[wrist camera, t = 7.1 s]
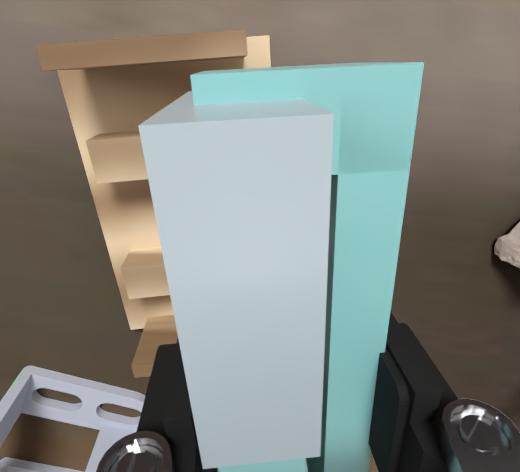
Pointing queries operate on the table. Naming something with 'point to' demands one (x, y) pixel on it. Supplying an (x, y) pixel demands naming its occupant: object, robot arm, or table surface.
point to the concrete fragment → (509, 247)
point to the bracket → (67, 412)
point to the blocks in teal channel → (283, 253)
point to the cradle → (136, 148)
